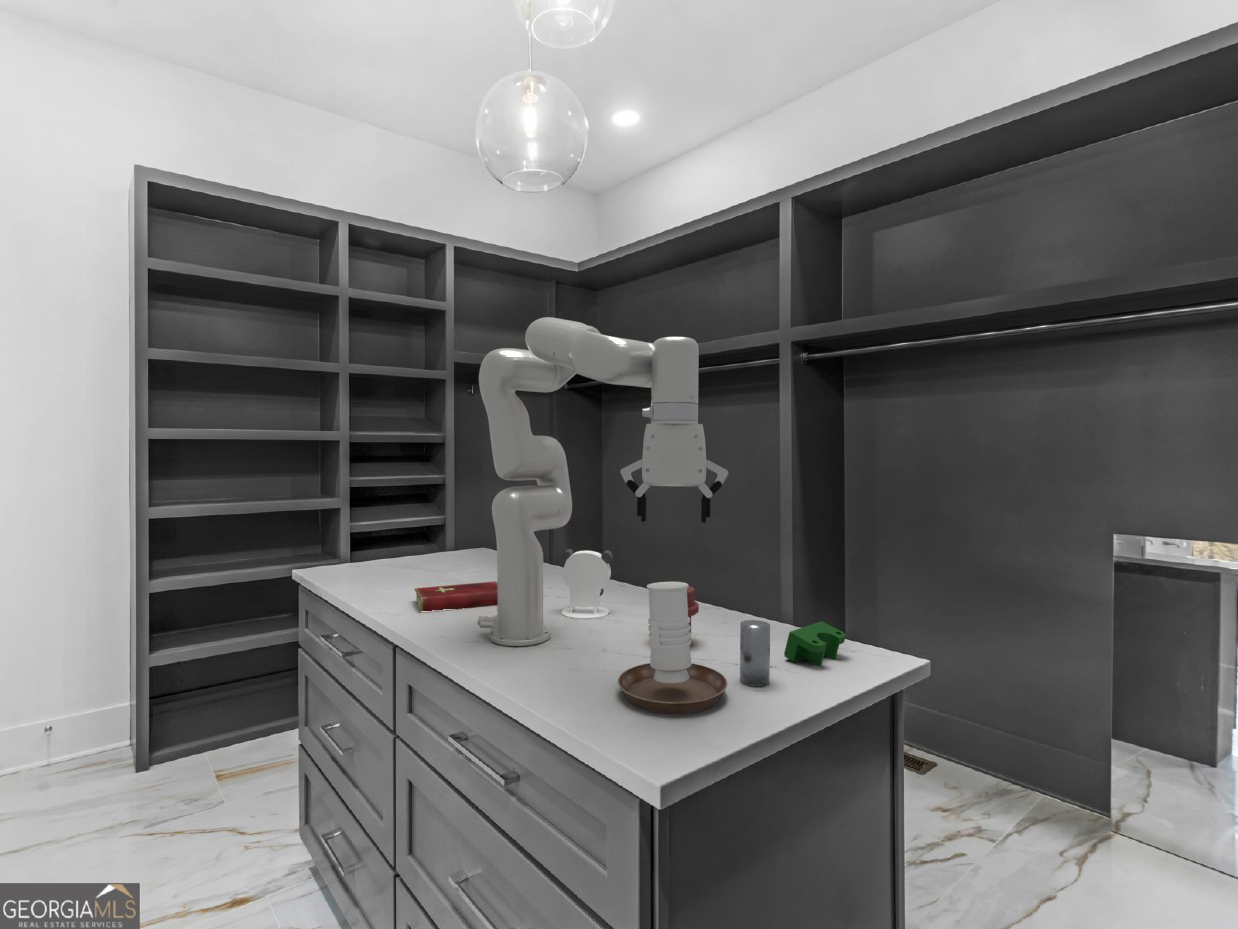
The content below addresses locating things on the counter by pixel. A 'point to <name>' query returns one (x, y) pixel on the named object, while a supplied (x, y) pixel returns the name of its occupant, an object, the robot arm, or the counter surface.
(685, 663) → the white ribbed cylinder
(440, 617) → the counter surface
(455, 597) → the hardcover book
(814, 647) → the clamp
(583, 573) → the panda figurine
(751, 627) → the metal pillar
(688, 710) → the plant saucer
